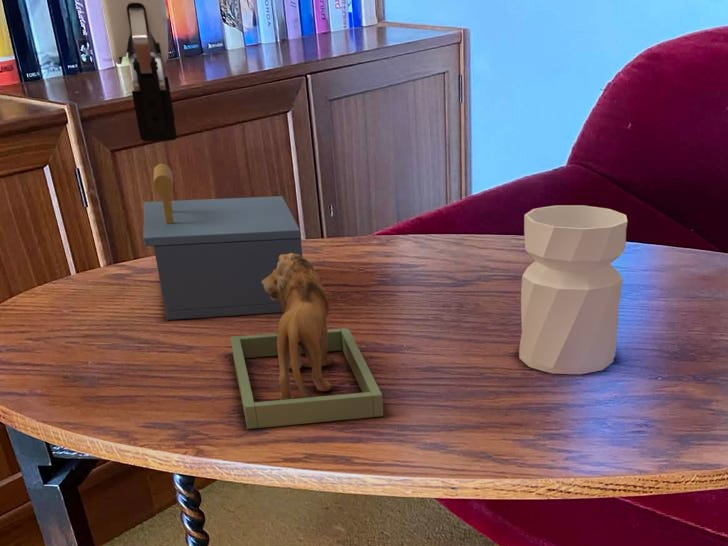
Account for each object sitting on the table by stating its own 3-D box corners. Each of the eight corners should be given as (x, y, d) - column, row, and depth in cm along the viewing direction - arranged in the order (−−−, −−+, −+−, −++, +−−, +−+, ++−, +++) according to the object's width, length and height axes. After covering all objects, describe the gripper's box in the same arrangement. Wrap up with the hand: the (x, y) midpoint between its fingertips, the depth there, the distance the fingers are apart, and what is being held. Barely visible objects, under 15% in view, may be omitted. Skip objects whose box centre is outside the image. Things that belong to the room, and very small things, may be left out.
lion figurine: (269, 352, 87) (257, 249, 82) (328, 348, 88) (319, 246, 83) (281, 415, 76) (267, 299, 70) (348, 410, 77) (340, 295, 72)
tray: (247, 429, 74) (244, 407, 72) (232, 356, 86) (230, 336, 85) (383, 416, 76) (382, 394, 75) (349, 347, 89) (348, 327, 88)
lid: (144, 246, 90) (133, 186, 87) (145, 209, 102) (135, 156, 99) (300, 238, 93) (295, 180, 90) (283, 203, 106) (278, 151, 103)
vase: (551, 381, 83) (560, 233, 75) (501, 349, 89) (505, 210, 82) (634, 365, 86) (650, 222, 79) (580, 336, 92) (590, 201, 85)
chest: (166, 320, 94) (153, 246, 90) (164, 276, 107) (153, 210, 103) (307, 310, 97) (301, 239, 93) (289, 269, 110) (283, 204, 106)
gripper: (79, -92, 88) (120, 119, 98) (66, -96, 74) (115, 149, 84) (164, -91, 89) (196, 116, 99) (166, -95, 76) (202, 145, 86)
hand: (158, 131), depth 92 cm, fingers open, 9 cm apart
